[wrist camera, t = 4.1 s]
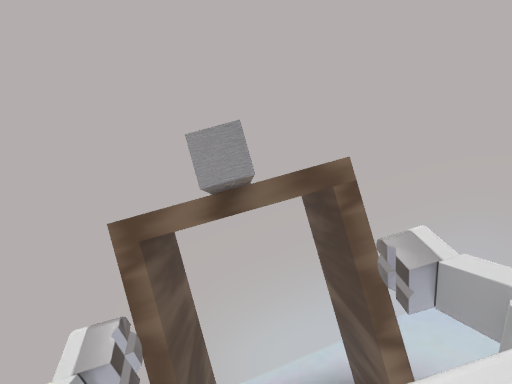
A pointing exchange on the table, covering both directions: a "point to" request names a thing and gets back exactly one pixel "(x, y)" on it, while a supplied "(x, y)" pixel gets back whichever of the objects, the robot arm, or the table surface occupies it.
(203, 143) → the bar
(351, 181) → the wooden side table
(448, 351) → the table surface
